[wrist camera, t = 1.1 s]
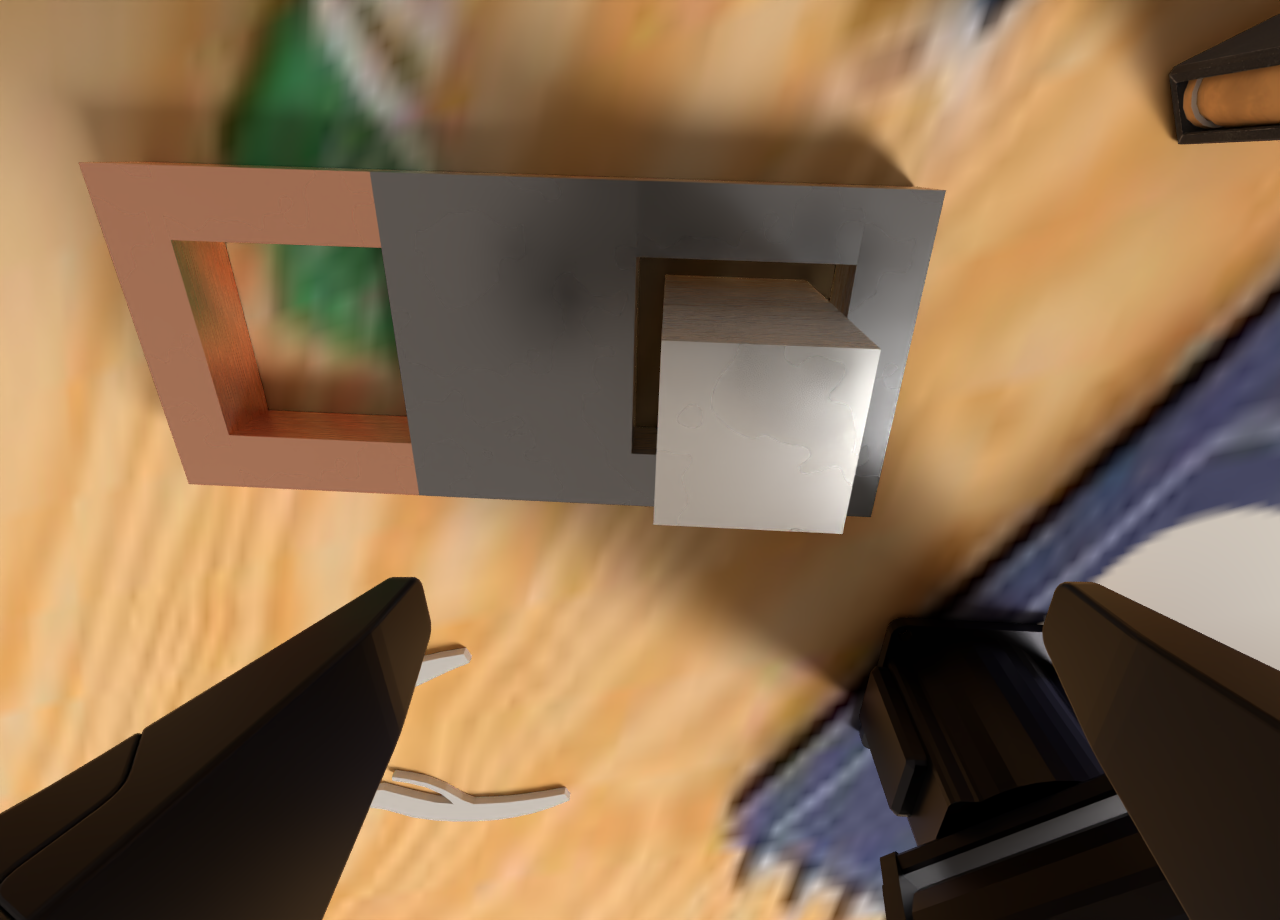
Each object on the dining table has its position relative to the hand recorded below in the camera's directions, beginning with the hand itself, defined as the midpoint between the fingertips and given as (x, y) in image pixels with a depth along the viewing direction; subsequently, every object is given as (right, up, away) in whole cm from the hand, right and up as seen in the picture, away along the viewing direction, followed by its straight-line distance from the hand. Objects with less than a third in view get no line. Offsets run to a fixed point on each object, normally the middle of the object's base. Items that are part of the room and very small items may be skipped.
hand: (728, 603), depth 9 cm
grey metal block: (+1, +6, +10) cm, 11 cm away
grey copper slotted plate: (-5, +6, +10) cm, 12 cm away
